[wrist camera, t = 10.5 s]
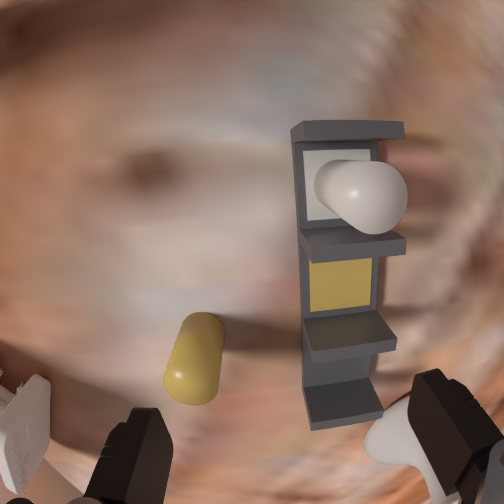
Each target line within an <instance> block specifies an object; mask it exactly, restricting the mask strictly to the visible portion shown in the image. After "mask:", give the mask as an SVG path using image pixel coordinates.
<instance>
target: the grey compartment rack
mask: <svg viewBox="0 0 504 504" xmlns="http://www.w3.org/2000/svg"><path fill="white" fill-rule="evenodd" d="M290 131H291V142H292V155H293V167H294V181H295V196H296V211H297V229H298V248H299V270H300V297H301V335H302V391H303V395H304V400H305V405H306V409H307V414H308V419H309V424H310V428H311V431H313V430H321V429H327V428H334V427H340V426H345V425H351V424H356V423H361V422H366V421H371V420H376V419H380V418H382V417H383V413H384V409H383V406H382V404H381V402H380V400H379V398H378V396H377V394H376V392H375V390H374V388H373V386H372V384H371V382H370V380H369V378H368V377H369V370H370V362H371V355H372V354H378V353H383V352H388V351H394V350H396V344H397V337H396V336H395V335H394V333H393V332H392V331H391V329H390V328H389V327H388V325H387V324H386V323H385V321H384V320H383V319H382V317H381V316H380V315H379V313H378V312H377V311H376V300H377V284H378V263H379V257H386V256H396V255H405V254H406V238H404V237H402V236H401V235H399V234H397V233H395V232H394V231H392V230H389V231H387V232H385V233H381V234H367V233H363V232H361V231H359V230H358V229H356V228H355V227H353V226H352V225H350V224H349V223H347V222H346V221H345V220H343V219H342V218H340V217H339V216H337V215H336V214H335V213H333V212H332V211H330V210H329V209H327V208H326V207H324V206H323V205H322V204H321V203H320V202H319V201H318V199H317V197H316V195H315V193H314V187H313V183H314V177H315V175H316V173H317V171H318V169H319V168H320V167H321V166H322V165H323V164H325V163H326V162H328V161H331V160H336V159H342V160H362V161H378V157H377V141H381V140H393V139H405V136H404V124H403V122H398V121H373V120H314V121H302V122H301V123H299V124H298V125H296V126H295V127H293V128H292V129H291V130H290Z"/></svg>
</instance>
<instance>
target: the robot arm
mask: <svg viewBox="0 0 504 504" xmlns="http://www.w3.org/2000/svg"><path fill="white" fill-rule="evenodd" d="M407 415H408V421H409V424H410V426H411V428H412V430H413V431H414V433H415V435H416V437H417V439H418V441H419V443H420V445H421V447H422V449H423V451H424V453H425V455H426V457H427V459H428V461H429V463H430V465H431V467H432V469H433V471H434V473H435V475H436V477H437V479H438V481H439V483H440V485H441V487H442V489H443V491H444V493H445V496H446V497H447V496H449V495H451V494H454V493H456V492H458V493H459V495H460V499H459V501H458V504H504V436H503V434H502V433H501V432H500V430H499V429H498V428H497V426H496V425H495V424H494V422H493V421H492V420H491V418H490V417H489V416H488V414H487V413H486V412H485V410H484V409H483V408H482V407H480V404H479V403H478V401H477V400H476V399H474V396H473V395H472V394H471V392H470V391H469V390H468V389H467V387H466V386H464V385H463V384H461V383H459V382H458V381H456V380H454V379H451V380H448V379H447V378H446V377H445V375H444V374H443V373H442V371H441V370H440V369H438V368H436V369H432V370H429V371H426V372H422V373H419V374H416V375H415V377H414V380H413V385H412V390H411V394H410V399H409V403H408V408H407ZM100 456H101V458H99V460H98V462H97V464H96V467H95V469H94V472H93V474H92V477H91V479H90V482H89V484H88V487H87V490H86V492H85V494H84V496H83V497H80V498H76V499H74V500H72V501H70V502H69V503H68V504H163V501H164V496H165V491H166V487H167V482H168V477H169V472H170V467H171V462H172V458H173V442H172V439H171V436H170V434H169V432H168V430H167V427H166V425H165V423H164V420H163V418H162V416H161V413H160V411H159V410H158V408H133V409H132V411H131V413H130V415H129V418H128V420H127V423H124V422H120V423H119V424H118V425H117V426H116V427H115V428H114V429H113V430H112V431H111V432H110V433H109V436H108V438H107V440H106V443H105V448H103V450H102V452H101V455H100ZM7 504H33V503H32V502H31V501H30V500H28V499H26V498H15V499H12V500H10V501H9V502H8V503H7Z"/></svg>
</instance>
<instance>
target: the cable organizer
mask: <svg viewBox="0 0 504 504" xmlns="http://www.w3.org/2000/svg"><path fill="white" fill-rule="evenodd" d="M3 373H4V371H3V372H2V368H1V370H0V377H1V375H2V374H3ZM22 383H23V381H22V382H21V384H20V386H19V387H17V388H16V390H17V392H16V394H17V393H18V394H17V395H16V394H15V395H14V394H13V393H11V392H10V391H8V390H7V389H5V388H4V387H2V386H1V385H0V473H1V475H2V478H3V481H4V483H5V486H6V487H7V488H8V489H9V490H11V491H12V492H14V493H15V494H17V495H21V494H23V493H24V492H25V489H26V487H27V485H28V484H29V482H30V480H31V478H32V476H33V474H34V472H35V471H36V469H37V467H38V465H39V463H40V461H41V459H42V458H43V456H44V454H45V452H46V451H47V448H48V445H49V441H50V397H51V385H50V382H49V381H48V380H46V379H44V378H43V377H41V376H39V375H38V374H34V375H33V376H32V377H31V378H30V379H29V380H28V381H27V383H26V384H25V385H24V384H22Z"/></svg>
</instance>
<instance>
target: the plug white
mask: <svg viewBox="0 0 504 504" xmlns="http://www.w3.org/2000/svg"><path fill="white" fill-rule="evenodd" d="M313 187H314V193H315V195H316V197H317V199H318V201H319V202H320V203H321V204H322V205H323V206H324V207H326V208H327V209H329V210H330V211H332V212H333V213H335V214H336V215H337V216H339V217H340V218H342V219H343V220H345V221H346V222H347V223H349V224H350V225H352V226H353V227H355V228H356V229H358V230H359V231H361V232H363V233H367V234H381V233H385V232H387V231H389V230H391V229H392V228H393V227H395V226H396V225H397V224H398V223H399V221H400V220H401V219H402V217H403V215H404V213H405V211H406V207H407V202H408V192H407V187H406V184H405V181H404V179H403V178H402V176H401V175H400V173H399V172H398V171H397V170H396V169H395V168H393V167H392V166H390V165H389V164H386V163H384V162H378V161H362V160H342V159H336V160H331V161H328V162H326V163H325V164H323V165H322V166H321V167H320V168H319V169H318V171H317V173H316V175H315V177H314V183H313Z"/></svg>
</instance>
